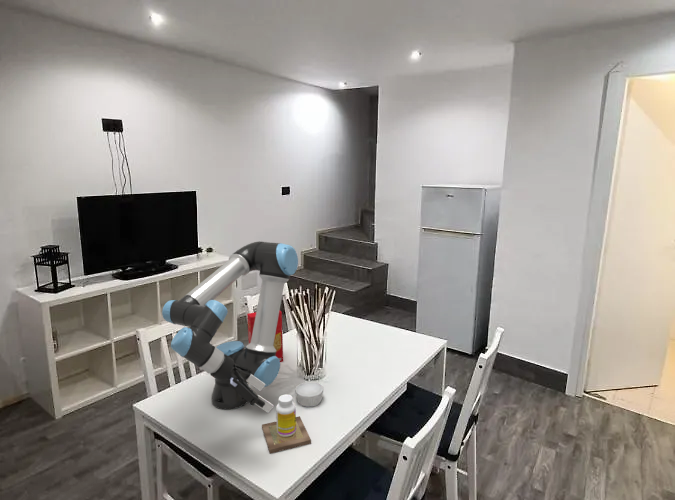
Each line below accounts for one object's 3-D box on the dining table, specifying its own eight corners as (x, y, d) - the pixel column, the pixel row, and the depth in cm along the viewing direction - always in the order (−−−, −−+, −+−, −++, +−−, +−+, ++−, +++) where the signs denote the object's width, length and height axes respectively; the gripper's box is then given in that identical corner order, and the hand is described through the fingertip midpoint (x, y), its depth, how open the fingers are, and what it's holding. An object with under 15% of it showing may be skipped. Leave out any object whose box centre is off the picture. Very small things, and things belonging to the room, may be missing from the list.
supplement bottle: (298, 435, 141) (297, 401, 138) (279, 439, 139) (277, 405, 136) (293, 423, 147) (292, 391, 144) (275, 427, 145) (274, 394, 142)
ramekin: (303, 390, 171) (302, 379, 170) (327, 396, 167) (327, 384, 166) (290, 405, 161) (290, 392, 160) (316, 411, 157) (316, 398, 156)
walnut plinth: (261, 428, 147) (261, 424, 147) (299, 419, 152) (299, 416, 152) (269, 453, 134) (269, 449, 134) (311, 443, 139) (310, 439, 139)
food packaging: (252, 368, 189) (250, 317, 184) (249, 364, 194) (247, 313, 188) (283, 361, 196) (281, 311, 191) (279, 357, 200) (277, 308, 195)
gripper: (206, 355, 140) (252, 387, 149) (211, 393, 117) (266, 428, 126) (221, 338, 141) (266, 371, 149) (229, 373, 118) (282, 409, 126)
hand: (266, 397), depth 137 cm, fingers open, 13 cm apart
